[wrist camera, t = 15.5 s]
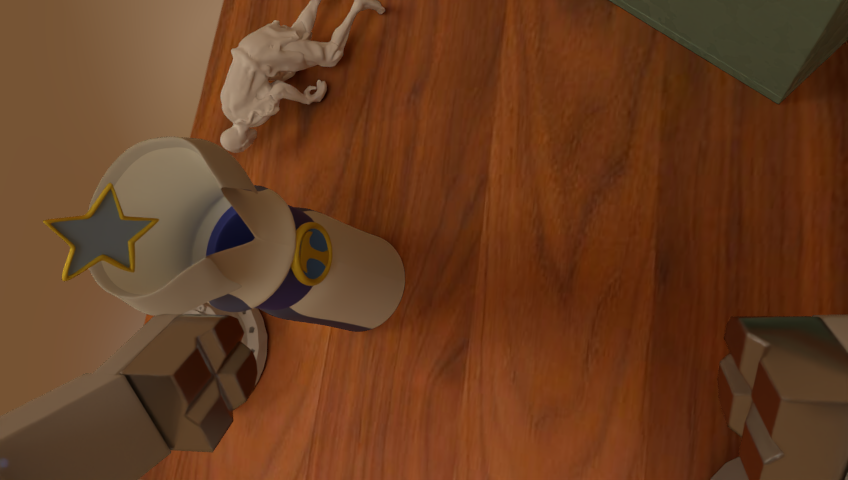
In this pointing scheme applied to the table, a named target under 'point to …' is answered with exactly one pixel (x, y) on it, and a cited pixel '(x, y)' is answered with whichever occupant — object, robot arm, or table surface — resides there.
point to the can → (731, 471)
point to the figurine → (278, 70)
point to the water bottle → (224, 243)
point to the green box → (752, 36)
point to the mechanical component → (252, 330)
